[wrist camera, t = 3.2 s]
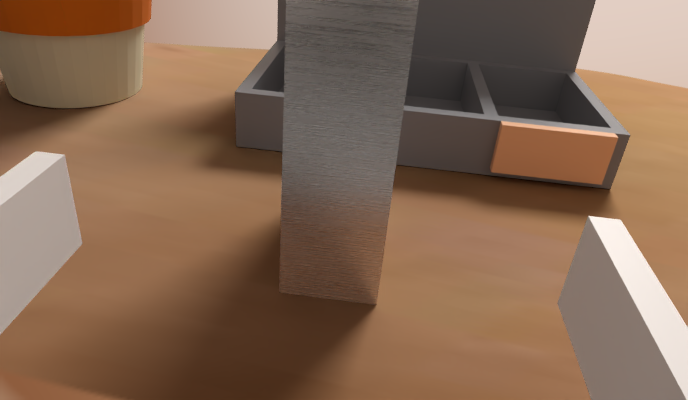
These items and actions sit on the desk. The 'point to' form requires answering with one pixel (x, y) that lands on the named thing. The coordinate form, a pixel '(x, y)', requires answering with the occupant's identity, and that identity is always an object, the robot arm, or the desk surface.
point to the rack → (478, 94)
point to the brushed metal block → (341, 141)
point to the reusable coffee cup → (72, 50)
